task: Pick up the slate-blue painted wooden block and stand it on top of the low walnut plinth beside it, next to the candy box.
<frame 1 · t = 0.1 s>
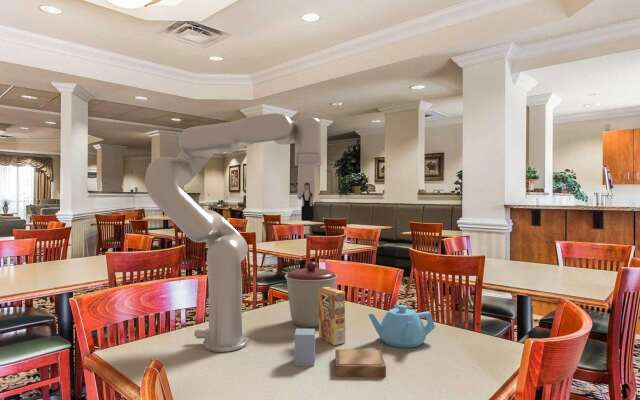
hand: (307, 219, 122), 37 cm above the table, tool pointing down, fingers open, 9 cm apart
candy box: (331, 340, 127), on the table
teapot: (401, 342, 126), on the table
canister: (311, 323, 144), on the table
plinth: (359, 367, 106), on the table
block: (305, 362, 110), on the table
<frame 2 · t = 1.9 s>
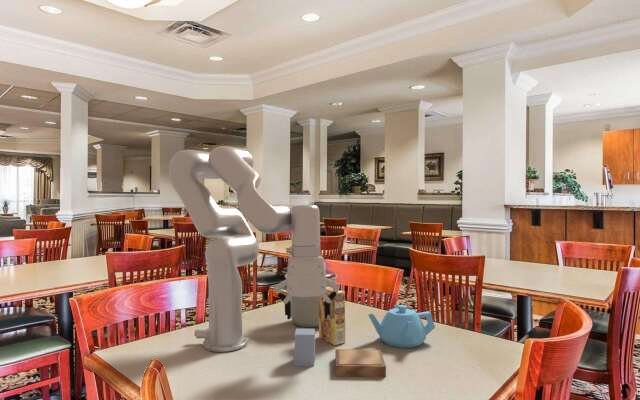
hand: (307, 317, 109), 12 cm above the table, tool pointing down, fingers open, 9 cm apart
nothing on the table moved.
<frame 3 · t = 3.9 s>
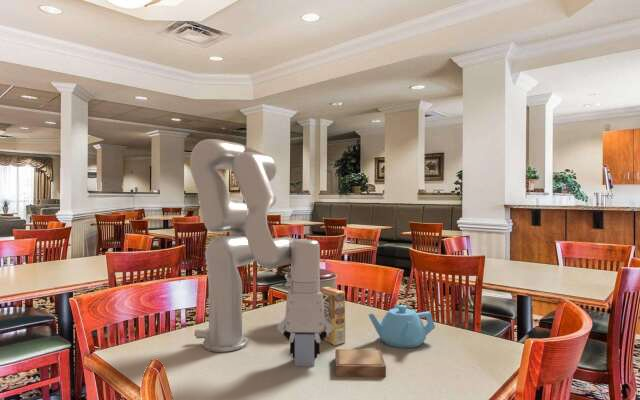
hand: (305, 355, 110), 2 cm above the table, tool pointing down, fingers closed on block, 5 cm apart
block: (305, 362, 110), on the table, touching gripper
everything else where it was.
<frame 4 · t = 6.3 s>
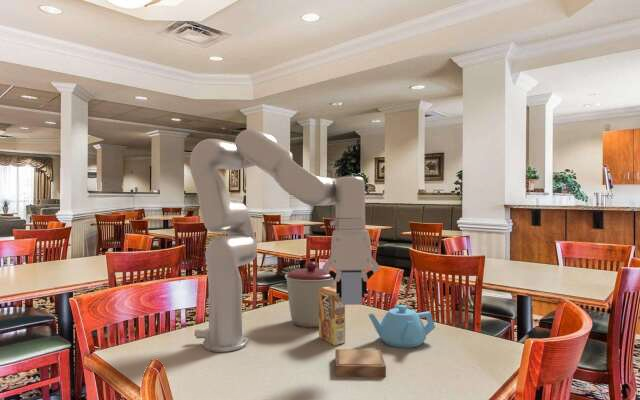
hand: (351, 295, 107), 18 cm above the table, tool pointing down, fingers closed on block, 5 cm apart
block: (351, 302, 107), point 16 cm above the table, touching gripper
everything else where it was.
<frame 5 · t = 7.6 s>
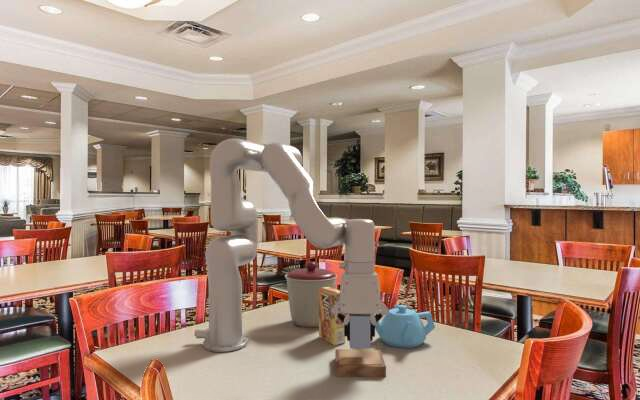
hand: (359, 338, 106), 7 cm above the table, tool pointing down, fingers closed on block, 5 cm apart
block: (359, 345, 106), point 6 cm above the table, touching gripper
everything else where it was.
when the fingers open (5 cm above the table, at t = 8.8 s): block stays where it is, resting on plinth.
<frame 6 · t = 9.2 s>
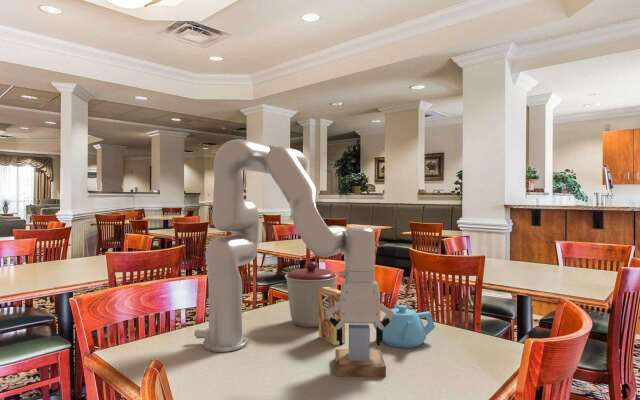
hand: (359, 343, 106), 6 cm above the table, tool pointing down, fingers open, 9 cm apart
block: (358, 356, 106), point 3 cm above the table, touching plinth
everything else where it was.
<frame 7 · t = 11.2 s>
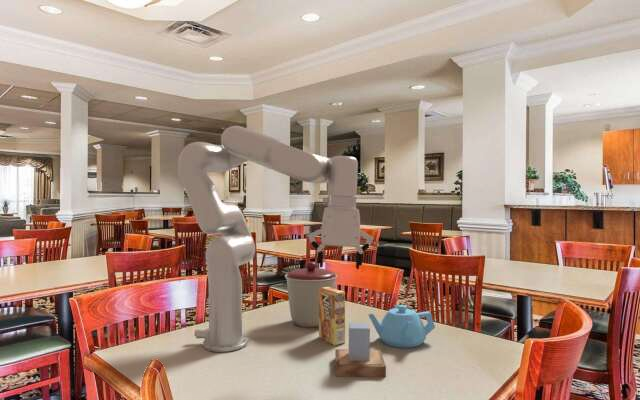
hand: (339, 267, 111), 25 cm above the table, tool pointing down, fingers open, 9 cm apart
nothing on the table moved.
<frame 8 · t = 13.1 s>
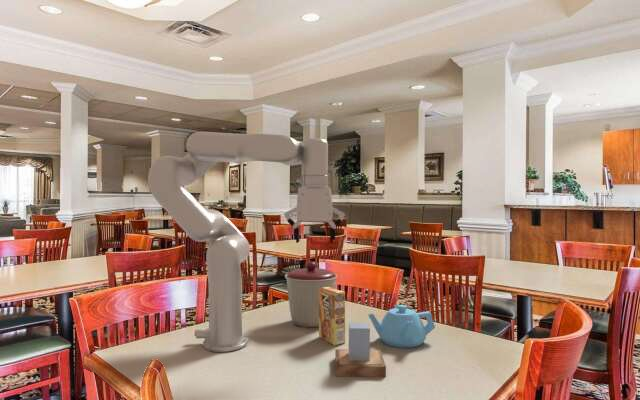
hand: (314, 242, 120), 30 cm above the table, tool pointing down, fingers open, 9 cm apart
nothing on the table moved.
at the end: block inside the target area on the plinth (0.1 cm from its centre), point 2.6 cm above the plinth's base; block tilted 0°; the gripper is holding nothing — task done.
